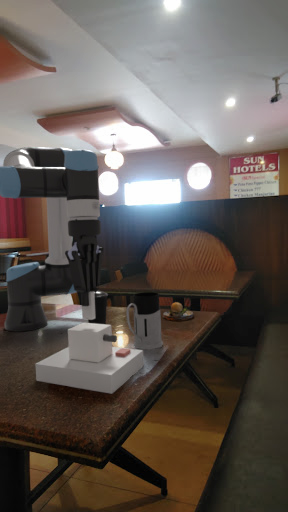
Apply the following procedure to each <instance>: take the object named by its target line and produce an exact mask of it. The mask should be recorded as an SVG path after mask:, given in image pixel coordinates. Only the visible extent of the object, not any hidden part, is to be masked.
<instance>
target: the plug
mask: <svg viewBox="0 0 288 512" xmlns="http://www.w3.org/2000/svg"><path fill="white" fill-rule="evenodd" d="M67 338H68V342H67V343H68V347H69V359H75V360H82V361H90V362H97V363H99V362H100V361H102V360H103V359H105V358H106V357H108V356H109V355H111V354H112V353H113V351H112V347H113V343H116V342H117V340H118V335H115V334H113V332H112V324H94V323H89V322H81V323H80V324H76V325H75V326H73V327H70V328H68V329H67Z"/></svg>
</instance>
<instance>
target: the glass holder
mask: <svg viewBox="0 0 288 512" xmlns="http://www.w3.org/2000/svg"><path fill="white" fill-rule="evenodd" d="M132 306H133V325H134V327H133V328H134V329H133V328H132V325H131V322H130V313H129V312H130V309H131V307H132ZM125 311H126V313H125V314H126V322H127V325H128V328H129V331H130V332H131V333H132V334H133V335H134V343H133V347H134V346H135V347H137V348H136V349H138V348H140V349H139V350H145V349H148V350H156V349H159V348H162V347H163V346H162V345H164V341H163V340H162V321H161V320H162V319H161V318H162V317H161V305H160V294H159V293H158V292H154V291H153V292H151V291H149V292H147V291H145V292H143V291H142V292H138V293H134V294H133V303H130V304H128V305H127V307H126V310H125ZM135 347H134V348H135ZM155 348H156V349H155Z"/></svg>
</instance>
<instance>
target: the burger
mask: <svg viewBox="0 0 288 512" xmlns="http://www.w3.org/2000/svg"><path fill="white" fill-rule="evenodd" d="M174 301H175V302H173V303H172V304H171V305H170V309H169V310H167V311H166V310H165V311H164V312H163V313H162V318H163V319H166V320H168V321H170V320H171V321H177V322H178V321H180V322H181V321H188V320H191V319H193V318H194V312H193V311H190V310H189V309H187V306H186V307H184V308H183V305H182V303H180V302H178V301H177V302H176V300H174Z"/></svg>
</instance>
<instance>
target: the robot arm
mask: <svg viewBox="0 0 288 512" xmlns="http://www.w3.org/2000/svg"><path fill="white" fill-rule="evenodd" d="M98 163H99V162H98V155H97V153H96V152H94V151H92V150H90V149H89V150H88V149H73V150H72V149H71V148H66V147H48V146H47V147H46V146H45V147H41V146H39V147H38V146H25V147H20V148H18V149H15V150H14V149H13V150H12V151H10V152H9V153H8V154H6V156H5V157H4V160H3V164H2V166H0V197H1V198H4V199H5V198H7V199H8V198H9V199H15V200H16V199H22V198H23V199H24V198H25V199H26V198H27V199H29V198H33V199H34V198H36V199H37V198H38V199H39V198H41V199H42V198H45V199H46V212H47V213H46V214H47V215H46V216H47V237H48V239H47V240H48V241H47V242H48V256H47V257H46V258H45V260H44V265H40V263H39V262H38V261H33V262H26V263H22V264H17V265H13V266H11V267H8V269H7V270H6V280H5V281H6V285H7V286H6V288H7V305H8V309H7V312H6V317H5V320H4V330H6V331H8V332H25V331H26V332H27V331H33V330H36V329H37V330H38V329H41V328H43V327H45V326H47V325H48V317H47V315H46V313H45V310H44V308H43V305H42V304H43V303H42V297H52V296H59V295H60V296H62V295H70V294H75V293H80V301H81V302H80V305H81V313H82V314H81V315H82V317H81V318H82V320H93V319H95V291H100V288H99V287H100V285H101V277H102V276H101V275H102V260H103V254H104V251H105V250H104V247H101V246H99V241H98V239H97V236H100V235H101V234H102V227H101V226H102V225H101V220H100V219H98V218H99V217H101V212H100V209H101V204H100V187H99V186H100V184H99V183H100V182H99V164H98ZM96 287H97V288H96Z"/></svg>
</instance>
